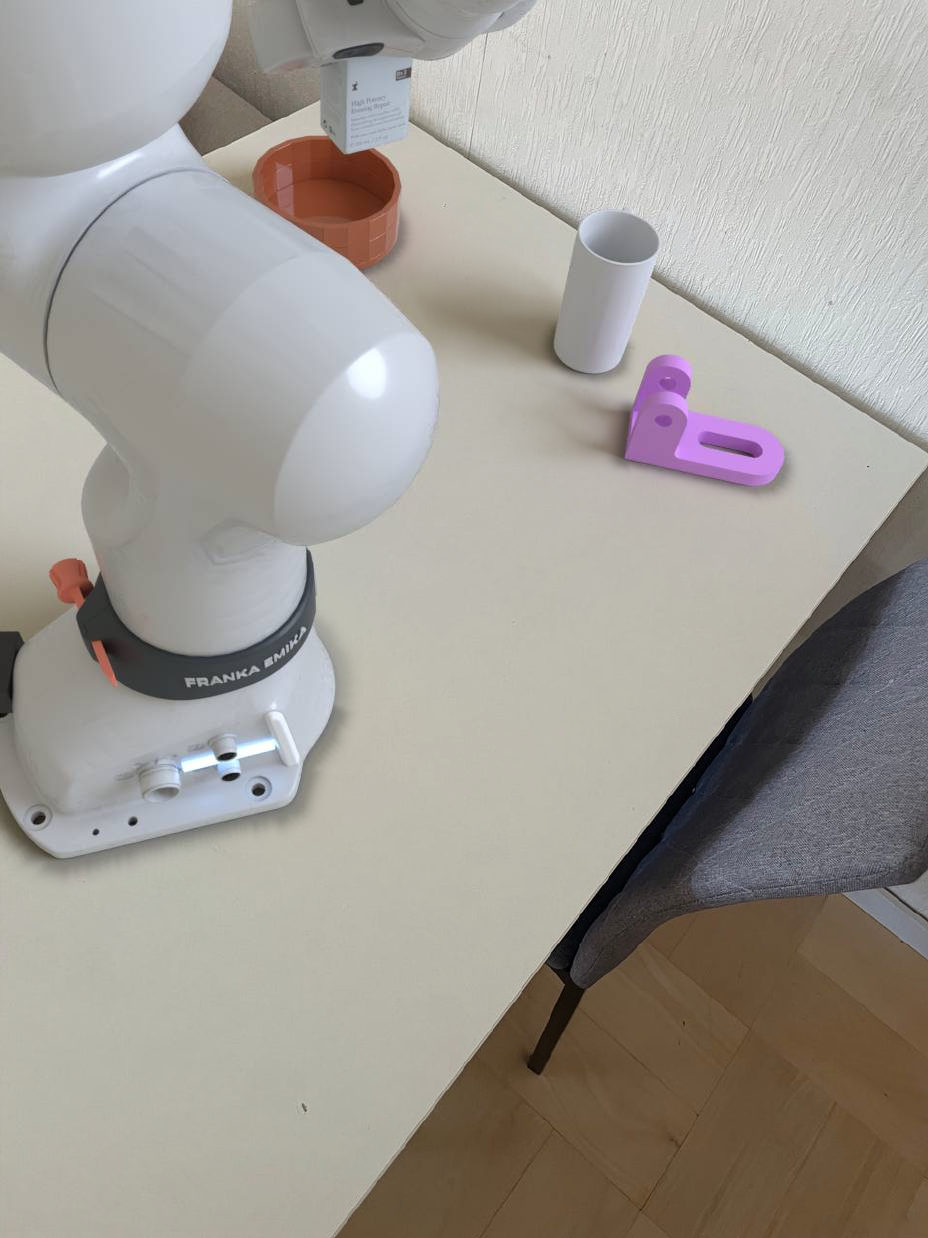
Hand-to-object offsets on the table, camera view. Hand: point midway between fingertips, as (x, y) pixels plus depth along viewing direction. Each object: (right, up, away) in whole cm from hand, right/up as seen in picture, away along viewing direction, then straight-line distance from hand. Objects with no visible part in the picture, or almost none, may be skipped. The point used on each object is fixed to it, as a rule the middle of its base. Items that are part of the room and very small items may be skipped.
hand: (361, 47), depth 77 cm
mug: (+19, -18, +15) cm, 30 cm away
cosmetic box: (0, -4, +5) cm, 7 cm away
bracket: (+28, -29, +9) cm, 41 cm away
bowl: (-5, -6, +19) cm, 20 cm away
